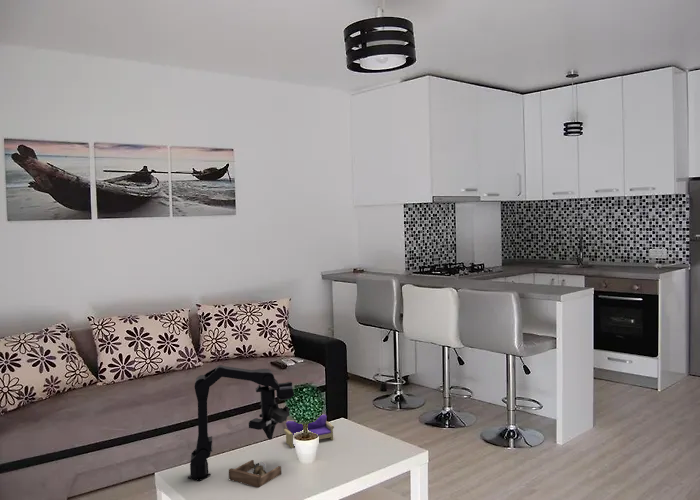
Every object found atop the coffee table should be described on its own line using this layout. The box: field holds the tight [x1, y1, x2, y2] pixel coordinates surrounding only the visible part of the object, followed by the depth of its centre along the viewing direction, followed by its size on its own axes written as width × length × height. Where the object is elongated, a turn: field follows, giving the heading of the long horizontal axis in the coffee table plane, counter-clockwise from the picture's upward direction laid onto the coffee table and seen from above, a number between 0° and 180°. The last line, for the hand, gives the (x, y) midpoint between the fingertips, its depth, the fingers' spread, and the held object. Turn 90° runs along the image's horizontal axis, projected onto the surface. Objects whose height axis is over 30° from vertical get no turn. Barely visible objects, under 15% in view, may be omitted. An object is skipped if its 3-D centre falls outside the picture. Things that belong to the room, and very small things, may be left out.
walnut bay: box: [228, 459, 282, 488], centre depth 240 cm, size 14×15×4 cm
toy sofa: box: [283, 413, 335, 449], centre depth 276 cm, size 21×9×10 cm, turn 113°
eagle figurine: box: [248, 461, 268, 476], centre depth 239 cm, size 8×7×9 cm
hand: (270, 439), depth 248 cm, fingers closed
